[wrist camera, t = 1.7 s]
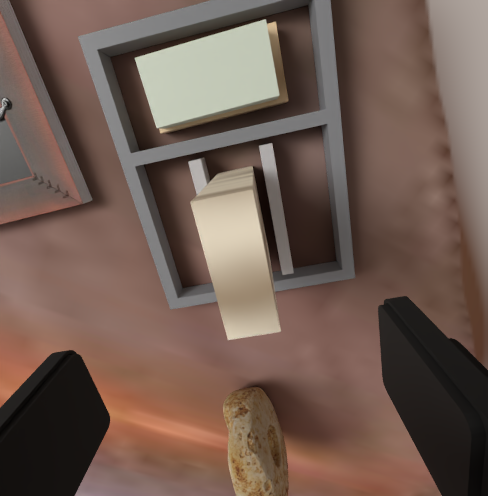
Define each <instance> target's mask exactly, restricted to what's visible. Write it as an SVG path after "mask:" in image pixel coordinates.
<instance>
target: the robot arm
mask: <svg viewBox="0 0 488 496" xmlns="http://www.w3.org/2000/svg"><path fill="white" fill-rule="evenodd" d="M378 315H379V330H380V346H381V361H382V377H383V382H384V386H385V388H386V391H387V393H388V395H389V396H390V398H391V400H392V402H393V404H394V406H395V408H396V410H397V412H398V413H399V415H400V417H401V419H402V421H403V423H404V425H405V427H406V429H407V430H408V432H409V434H410V436H411V438H412V440H413V442H414V444H415V446H416V447H417V449H418V451H419V453H420V455H421V457H422V459H423V461H424V463H425V464H426V466H427V468H428V470H429V472H430V474H431V476H432V478H433V480H434V481H435V483H436V485H437V487H438V489H439V491H440V493H441V495H442V496H488V370H487V369H486V368H485V367H484V366H483V365H482V364H481V363H480V362H479V361H478V360H477V359H476V358H475V357H474V356H473V355H472V354H471V353H470V352H469V351H468V350H467V349H466V348H465V347H464V346H463V345H462V344H461V343H459V342H458V341H457V340H455V339H452V338H450V339H448V338H447V337H446V336H445V335H444V334H443V333H442V332H441V331H440V330H439V329H438V327H437V326H436V325H435V324H434V323H433V322H432V321H431V320H430V319H429V318H428V317H427V316H426V315H425V314H424V313H423V312H422V311H421V310H420V309H419V308H418V307H417V306H416V305H415V304H414V303H413V302H412V301H411V300H410V299H409V298H408V297H407V296H403V297H397V298H391V299H385V300H384V305H380V306H379V307H378ZM109 424H110V415H109V413H108V411H107V409H106V407H105V405H104V403H103V400H102V398H101V396H100V394H99V392H98V390H97V388H96V386H95V384H94V382H93V380H92V378H91V376H90V374H89V371H88V369H87V367H86V365H85V363H84V361H83V359H82V357H81V356H80V355H79V354H77V353H76V352H75V351H73V350H68V351H62V352H56V353H52V354H51V355H50V356H49V357H48V358H47V359H46V360H45V361H44V362H43V363H42V364H41V365H40V366H39V367H38V368H37V369H36V371H35V372H34V373H33V374H32V375H31V376H30V377H29V378H28V379H27V380H26V381H25V382H24V383H23V384H22V385H21V386H20V388H19V389H18V390H17V391H16V392H15V393H14V394H13V395H12V396H11V397H10V398H9V399H8V400H7V401H6V402H5V403H4V405H3V406H2V407H1V408H0V496H75V494H76V492H77V490H78V488H79V486H80V484H81V482H82V480H83V478H84V476H85V474H86V472H87V470H88V468H89V466H90V464H91V462H92V460H93V458H94V456H95V454H96V452H97V450H98V448H99V446H100V444H101V442H102V440H103V438H104V436H105V434H106V432H107V430H108V427H109Z"/></svg>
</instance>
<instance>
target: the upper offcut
mask: <svg viewBox="0 0 488 496" xmlns="http://www.w3.org/2000/svg"><path fill="white" fill-rule="evenodd" d="M135 61H136V64H137V67H138V70H139V74H140V77H141V80H142V83H143V86H144V89H145V93H146V96H147V99H148V102H149V105H150V109H151V112H152V115H153V118H154V121H155V124H156V128H160V129H166V128H170V127H174V126H178V125H181V124H185V123H189V122H193V121H196V120H200V119H204V118H208V117H211V116H215V115H219V114H223V113H227V112H230V111H234V110H238V109H242V108H245V107H249V106H253V105H257V104H260V103H264V102H268V101H272V100H275V99H278V97H279V90H278V85H277V79H276V73H275V68H274V62H273V56H272V51H271V45H270V39H269V34H268V28H267V22H266V19H265V20H261V21H258V22H254V23H251V24H248V25H244V26H241V27H238V28H234V29H231V30H227V31H224V32H221V33H217V34H214V35H210V36H207V37H204V38H200V39H197V40H194V41H190V42H187V43H183V44H180V45H177V46H173V47H170V48H166V49H163V50H160V51H156V52H153V53H150V54H146V55H143V56H139V57H136V58H135Z"/></svg>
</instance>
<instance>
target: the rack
mask: <svg viewBox="0 0 488 496" xmlns="http://www.w3.org/2000/svg"><path fill="white" fill-rule="evenodd" d="M307 5H308V7H309V16H310V25H311V34H312V43H313V52H314V61H315V70H316V79H317V88H318V97H319V106H320V111H315V112H311V113H307V114H302V115H298V116H293V117H289V118H284V119H280V120H276V121H271V122H267V123H262V124H258V125H254V126H249V127H245V128H240V129H236V130H232V131H227V132H223V133H218V134H214V135H209V136H205V137H201V138H196V139H192V140H187V141H183V142H179V143H174V144H170V145H165V146H161V147H156V148H152V149H148V150H143V151H139V148H138V144H137V141H136V138H135V135H134V132H133V129H132V125H131V122H130V119H129V116H128V113H127V109H126V106H125V103H124V100H123V97H122V93H121V90H120V87H119V84H118V81H117V78H116V74H115V71H114V68H113V65H112V62H111V58H110V57H112V56H116V55H119V54H123V53H127V52H131V51H135V50H138V49H142V48H146V47H150V46H154V45H158V44H161V43H165V42H169V41H173V40H177V39H181V38H184V37H188V36H192V35H196V34H200V33H203V32H207V31H211V30H215V29H219V28H223V27H226V26H230V25H234V24H238V23H242V22H246V21H249V20H253V19H257V18H261V17H265V16H268V15H272V14H276V13H280V12H284V11H288V10H291V9H295V8H299V7H303V6H307ZM78 38H79V41H80V44H81V47H82V50H83V53H84V56H85V59H86V62H87V64H88V67H89V70H90V73H91V76H92V79H93V82H94V85H95V88H96V91H97V94H98V97H99V100H100V103H101V106H102V109H103V112H104V115H105V118H106V121H107V123H108V126H109V129H110V132H111V135H112V138H113V141H114V144H115V147H116V150H117V153H118V156H119V159H120V162H121V165H122V168H123V171H124V174H125V177H126V180H127V182H128V185H129V188H130V191H131V194H132V197H133V200H134V203H135V206H136V209H137V212H138V215H139V218H140V221H141V224H142V227H143V230H144V233H145V236H146V239H147V241H148V244H149V247H150V250H151V253H152V256H153V259H154V262H155V265H156V268H157V271H158V274H159V277H160V280H161V283H162V286H163V289H164V292H165V295H166V298H167V300H168V303H169V306H170V309H176V308H182V307H188V306H194V305H200V304H205V303H211V302H217V298H216V294H215V290H214V287H213V283H209V284H203V285H197V286H192V287H186V288H182V285H181V281H180V278H179V275H178V272H177V269H176V265H175V262H174V259H173V256H172V253H171V250H170V246H169V243H168V240H167V237H166V234H165V230H164V227H163V224H162V221H161V218H160V215H159V211H158V208H157V205H156V202H155V199H154V195H153V192H152V189H151V186H150V183H149V179H148V176H147V173H146V170H145V167H144V164H148V163H153V162H157V161H162V160H166V159H171V158H175V157H180V156H184V155H189V154H193V153H198V152H202V151H207V150H211V149H216V148H220V147H225V146H229V145H234V144H238V143H243V142H247V141H252V140H256V139H261V138H265V137H270V136H275V135H279V134H284V133H288V132H293V131H297V130H302V129H306V128H311V127H315V126H320V125H322V134H323V143H324V152H325V161H326V170H327V179H328V188H329V197H330V206H331V215H332V224H333V233H334V242H335V251H336V261H333V262H327V263H322V264H316V265H310V266H305V267H299V268H293V265H292V259H291V253H290V247H289V241H288V235H287V229H286V223H285V217H284V211H283V205H282V199H281V193H280V187H279V181H278V175H277V169H276V163H275V157H274V151H273V145H272V143H267V144H263V145H259V150H260V156H261V161H262V167H263V172H264V178H265V183H266V189H267V194H268V200H269V205H270V211H271V216H272V222H273V227H274V233H275V238H276V244H277V249H278V255H279V260H280V266H281V270H282V271H276V272H272V274H273V281H274V288H275V292H276V291H282V290H288V289H293V288H299V287H305V286H311V285H317V284H323V283H329V282H335V281H340V280H346V279H352V278H355V270H354V259H353V248H352V237H351V225H350V214H349V203H348V192H347V180H346V169H345V158H344V147H343V135H342V124H341V113H340V102H339V90H338V79H337V68H336V57H335V45H334V34H333V23H332V11H331V0H211V1H207V2H203V3H200V4H196V5H192V6H189V7H185V8H181V9H177V10H174V11H170V12H166V13H163V14H159V15H155V16H152V17H148V18H144V19H141V20H137V21H133V22H130V23H126V24H122V25H119V26H115V27H111V28H108V29H104V30H100V31H97V32H93V33H89V34H85V35H82V36H78ZM188 163H189V167H190V171H191V174H192V178H193V182H194V186H195V190H196V193H197V195H198V194H199V193H200V192H201V191H202V189H203V188H204V187H205V186H206V185H207V184H208V183H209V182H210V178H209V174H208V170H207V165H206V161H205V157H204V158H199V159H194V160H191V161H189V162H188Z"/></svg>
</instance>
